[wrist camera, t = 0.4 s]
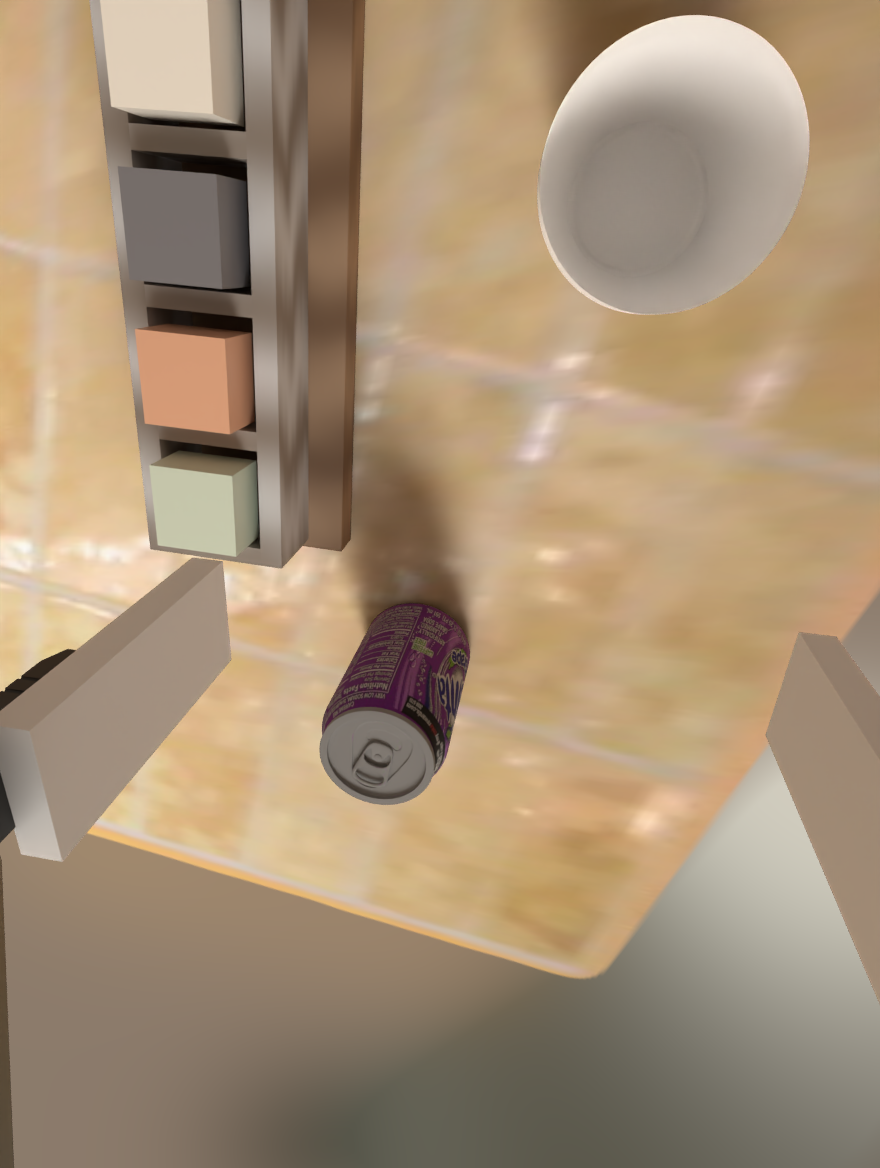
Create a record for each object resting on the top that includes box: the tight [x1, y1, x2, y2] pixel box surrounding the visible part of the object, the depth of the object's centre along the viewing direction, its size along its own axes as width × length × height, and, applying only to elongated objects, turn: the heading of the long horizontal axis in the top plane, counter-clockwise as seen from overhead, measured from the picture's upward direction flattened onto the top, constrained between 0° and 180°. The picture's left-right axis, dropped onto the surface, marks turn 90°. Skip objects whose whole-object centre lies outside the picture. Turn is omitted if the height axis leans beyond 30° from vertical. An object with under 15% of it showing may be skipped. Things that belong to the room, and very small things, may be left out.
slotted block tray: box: [89, 0, 365, 568], centre depth 36 cm, size 28×12×6 cm, turn 175°
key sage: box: [149, 450, 259, 557], centre depth 37 cm, size 4×4×3 cm
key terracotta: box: [135, 324, 255, 434], centre depth 34 cm, size 4×4×3 cm
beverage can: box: [320, 603, 470, 805], centre depth 41 cm, size 7×7×12 cm
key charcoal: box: [118, 166, 250, 289], centre depth 31 cm, size 4×4×3 cm
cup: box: [537, 15, 810, 315], centre depth 28 cm, size 9×9×12 cm
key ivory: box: [100, 0, 244, 127], centre depth 28 cm, size 4×4×3 cm
